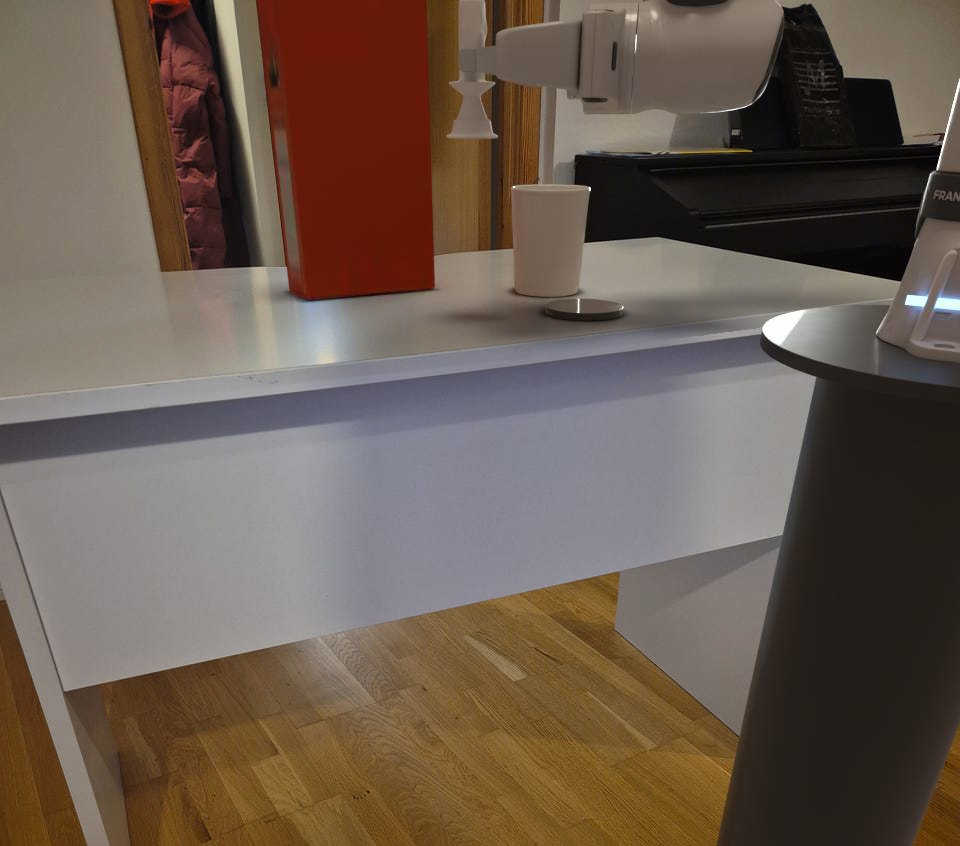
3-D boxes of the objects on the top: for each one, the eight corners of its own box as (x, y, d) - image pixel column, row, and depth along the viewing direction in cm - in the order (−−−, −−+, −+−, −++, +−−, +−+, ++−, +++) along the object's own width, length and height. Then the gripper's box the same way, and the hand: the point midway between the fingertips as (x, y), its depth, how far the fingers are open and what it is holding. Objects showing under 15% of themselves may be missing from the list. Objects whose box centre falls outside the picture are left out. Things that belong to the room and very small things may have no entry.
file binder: (288, 291, 109) (253, -21, 92) (409, 280, 116) (397, -11, 99) (308, 301, 103) (275, -30, 86) (435, 289, 110) (427, -19, 93)
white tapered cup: (513, 283, 114) (515, 183, 107) (586, 286, 112) (592, 184, 106) (503, 297, 105) (505, 189, 99) (581, 299, 104) (588, 190, 98)
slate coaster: (637, 312, 97) (638, 305, 97) (592, 324, 92) (592, 316, 91) (576, 302, 102) (576, 295, 102) (529, 313, 97) (529, 305, 96)
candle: (487, 138, 89) (487, -4, 82) (505, 138, 84) (507, -11, 78) (439, 138, 87) (435, -7, 81) (456, 139, 83) (453, -14, 76)
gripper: (610, 29, 87) (480, 32, 89) (602, 7, 70) (441, 11, 72) (605, 101, 91) (480, 102, 93) (596, 96, 74) (443, 97, 76)
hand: (463, 62), depth 82 cm, fingers closed on candle, 2 cm apart
